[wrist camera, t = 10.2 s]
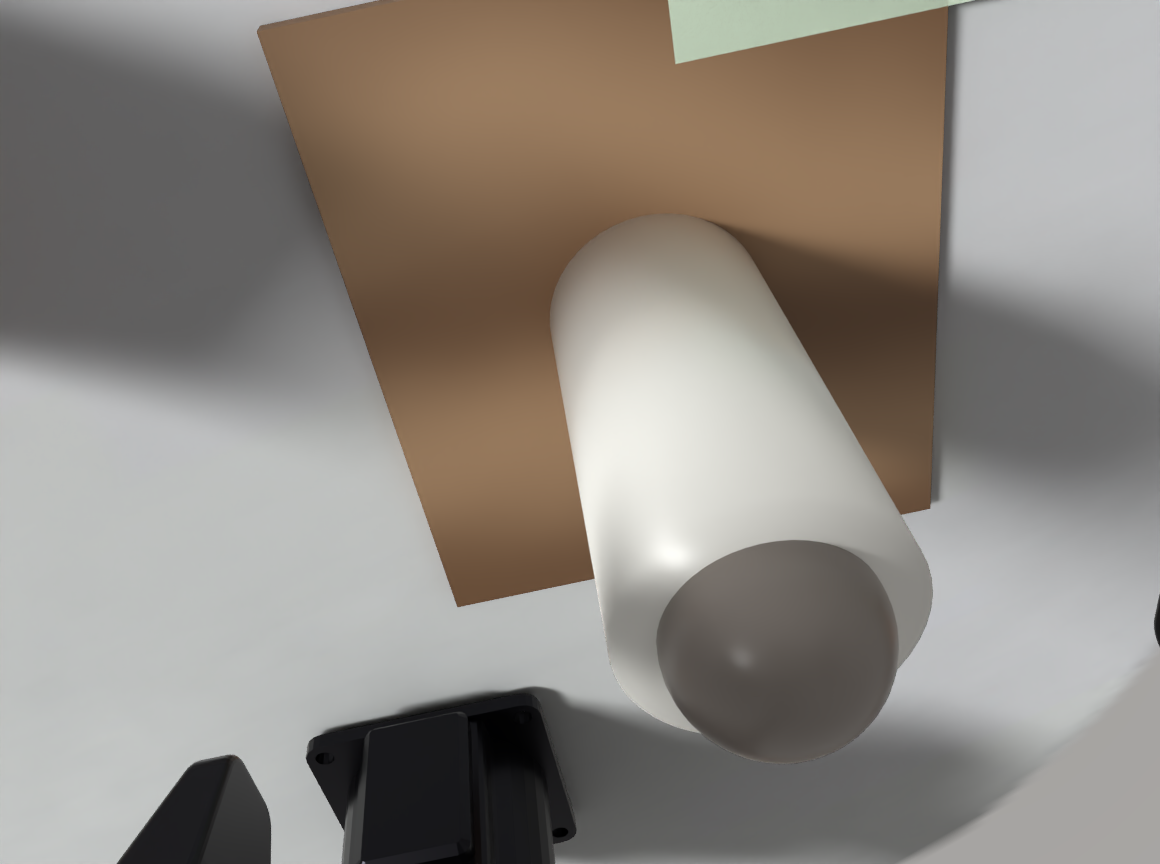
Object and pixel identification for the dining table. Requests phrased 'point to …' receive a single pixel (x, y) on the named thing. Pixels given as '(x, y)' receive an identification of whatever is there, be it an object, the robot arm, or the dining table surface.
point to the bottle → (727, 500)
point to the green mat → (789, 18)
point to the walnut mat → (608, 225)
